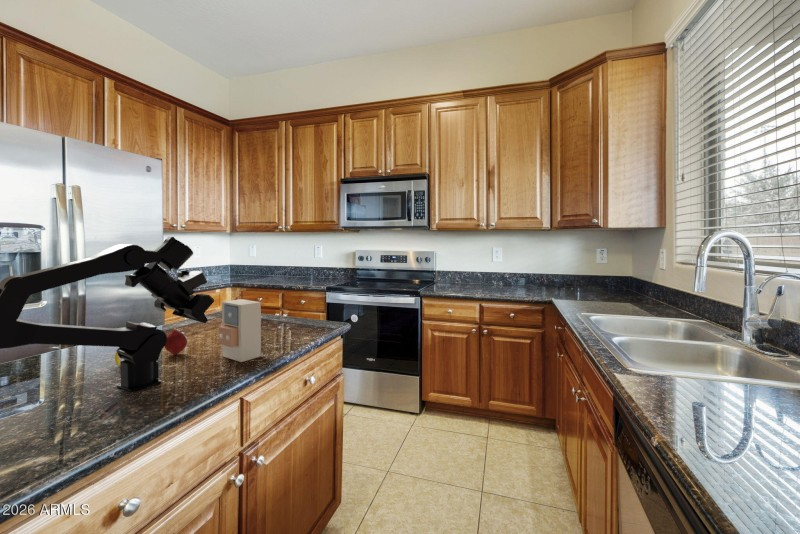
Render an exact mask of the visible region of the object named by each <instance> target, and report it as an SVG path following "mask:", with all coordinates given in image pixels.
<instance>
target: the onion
mask: <svg viewBox="0 0 800 534" xmlns="http://www.w3.org/2000/svg"><path fill="white" fill-rule="evenodd" d="M166 336H167V342H166V345H165V346H164V349H165V350H166V351H168V352H169V353H170V354H171V355H174V356H177V355H178V354H180V353H181V352H182V351H184V349H186V347H187V346H188V345H187V344H188V339H187V337H186V336H185V334H184V333H183V332H181V331H179V330H178V329H177V328H176V327H174V328H173V329H172V332H170V333H169V334H167V335H166Z"/></svg>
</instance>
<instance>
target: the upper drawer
mask: <svg viewBox="0 0 800 534" xmlns="http://www.w3.org/2000/svg"><path fill="white" fill-rule="evenodd" d="M224 322H225V323H230V324H234V325H238V307H237V306H232V305H224Z"/></svg>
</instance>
